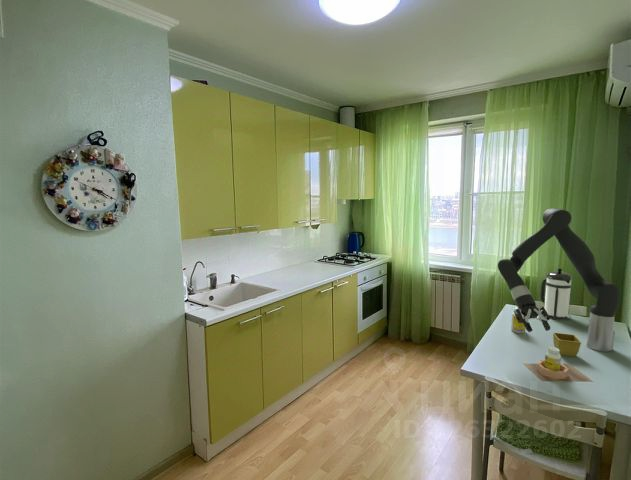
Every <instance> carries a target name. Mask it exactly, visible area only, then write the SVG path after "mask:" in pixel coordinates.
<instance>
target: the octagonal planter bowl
mask: <svg viewBox="0 0 631 480" xmlns="http://www.w3.org/2000/svg"><path fill="white" fill-rule="evenodd" d="M536 364H537V371H538V372H539V373H541V374H542V375H543V376H546V377H549V378H552V379H566V378H567V376H568V370H569V369H568V368H567V367H566V366H565V365H563V364H564V363H563V362H561V363H560V371H553V370H550V369H547V368H544V364H545V359H540V360H539V361H538V362H537V363H536Z"/></svg>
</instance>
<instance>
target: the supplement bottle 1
mask: <svg viewBox="0 0 631 480" xmlns="http://www.w3.org/2000/svg"><path fill="white" fill-rule="evenodd" d="M516 309H518V307H517V306H516V307H514V311H515V310H516ZM519 310H520V309H519ZM514 311H513V312H512V313H511V327H510V328H511V331H512V332H515V333H517V334H524V333H525V332H526V328H525V326H524V324H523V323H518V321H517V318H516V316H515V314H514ZM521 315H522V317H523V314H521Z"/></svg>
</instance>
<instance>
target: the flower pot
mask: <svg viewBox="0 0 631 480" xmlns="http://www.w3.org/2000/svg"><path fill="white" fill-rule="evenodd" d="M552 334H553V335H552V336H553V337H552V338H553V345H554V346H553V347H556V348H558V349H559V350H560V352H559V354H560V355H561V356H566V357H576V356H578V353H579V352H580V348H581V345H582V341H581V340H580V339H579V338H578V337H577V336H576V335H575V334H570V333H563V332H553V333H552Z"/></svg>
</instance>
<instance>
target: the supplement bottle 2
mask: <svg viewBox="0 0 631 480" xmlns="http://www.w3.org/2000/svg"><path fill="white" fill-rule="evenodd" d="M559 352H560V350H559V349H558V348H556V347H555V346H548V347H547V351H546V352H545V355H544V356H545V357H544V360H545V364H544V368H547V369H550V370H553V371H560V363H562V362H561V360H562V355H560V354H559Z"/></svg>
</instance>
